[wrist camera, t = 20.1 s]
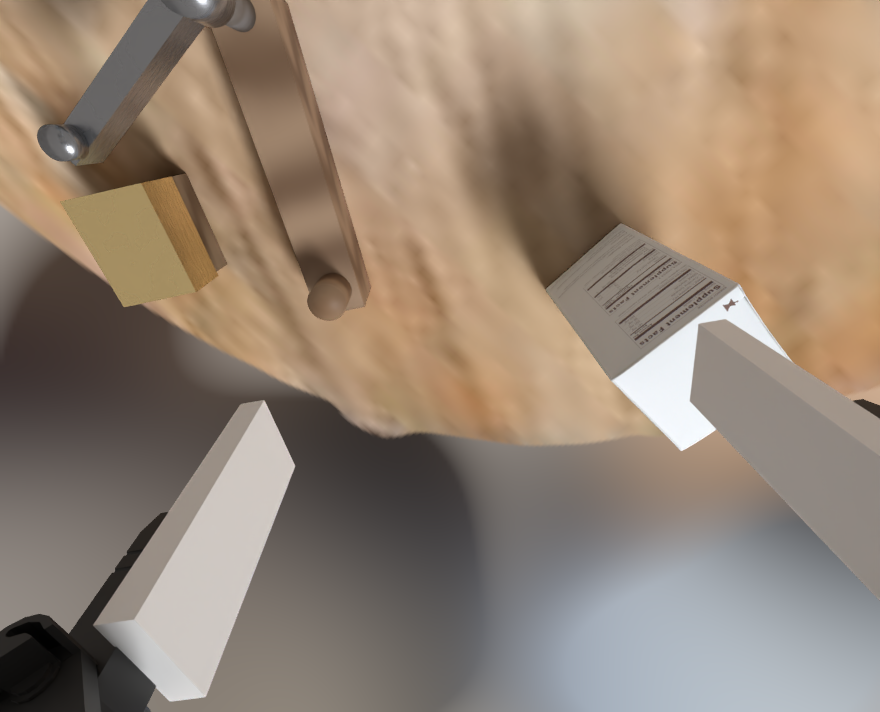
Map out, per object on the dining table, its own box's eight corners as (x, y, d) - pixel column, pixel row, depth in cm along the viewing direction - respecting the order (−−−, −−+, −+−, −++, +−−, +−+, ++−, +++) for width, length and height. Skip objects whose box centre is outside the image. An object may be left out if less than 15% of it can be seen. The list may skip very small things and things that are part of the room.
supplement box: (542, 288, 42) (605, 379, 27) (620, 219, 39) (738, 278, 24) (599, 347, 45) (682, 456, 31) (675, 288, 42) (808, 376, 28)
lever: (199, -59, 22) (161, -90, 19) (247, -3, 23) (218, -23, 20) (68, 131, 26) (18, 133, 23) (114, 172, 27) (73, 178, 24)
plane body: (233, 18, 31) (164, -19, 23) (287, 4, 31) (238, -39, 23) (329, 295, 42) (305, 337, 33) (371, 287, 41) (357, 327, 33)
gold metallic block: (99, 193, 33) (60, 201, 29) (171, 176, 32) (140, 183, 29) (152, 289, 37) (123, 307, 33) (218, 275, 36) (196, 292, 33)
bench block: (140, 183, 36) (109, 190, 33) (186, 173, 36) (160, 178, 33) (185, 272, 40) (162, 287, 37) (227, 264, 40) (208, 277, 36)
